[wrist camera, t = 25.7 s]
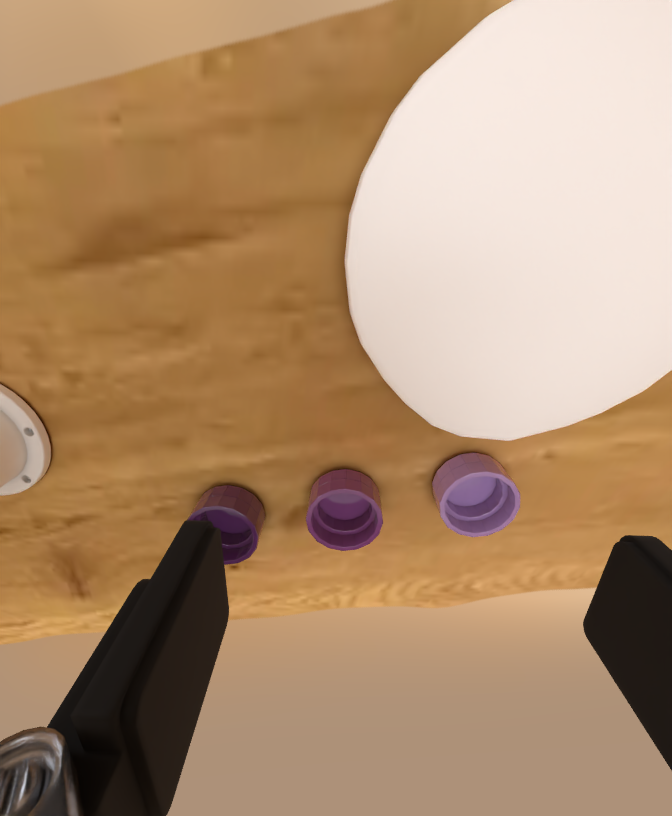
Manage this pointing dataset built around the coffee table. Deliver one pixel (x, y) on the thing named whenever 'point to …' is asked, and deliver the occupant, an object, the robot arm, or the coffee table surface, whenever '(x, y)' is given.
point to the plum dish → (344, 510)
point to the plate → (523, 221)
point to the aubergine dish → (232, 519)
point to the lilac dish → (475, 495)
